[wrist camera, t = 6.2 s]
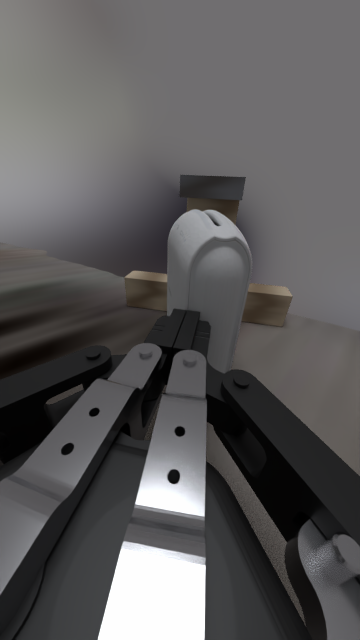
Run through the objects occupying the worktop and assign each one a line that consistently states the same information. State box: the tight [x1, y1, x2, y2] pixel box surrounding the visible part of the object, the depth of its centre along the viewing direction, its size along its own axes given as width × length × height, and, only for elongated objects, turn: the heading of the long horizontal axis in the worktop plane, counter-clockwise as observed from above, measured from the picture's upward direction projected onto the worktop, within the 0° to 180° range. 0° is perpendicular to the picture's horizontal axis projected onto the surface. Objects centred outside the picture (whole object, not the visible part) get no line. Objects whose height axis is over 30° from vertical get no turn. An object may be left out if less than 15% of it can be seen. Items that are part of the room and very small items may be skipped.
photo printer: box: [167, 209, 253, 374], centre depth 16 cm, size 10×4×12 cm, turn 8°
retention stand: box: [124, 175, 293, 327], centre depth 23 cm, size 20×7×14 cm, turn 79°
